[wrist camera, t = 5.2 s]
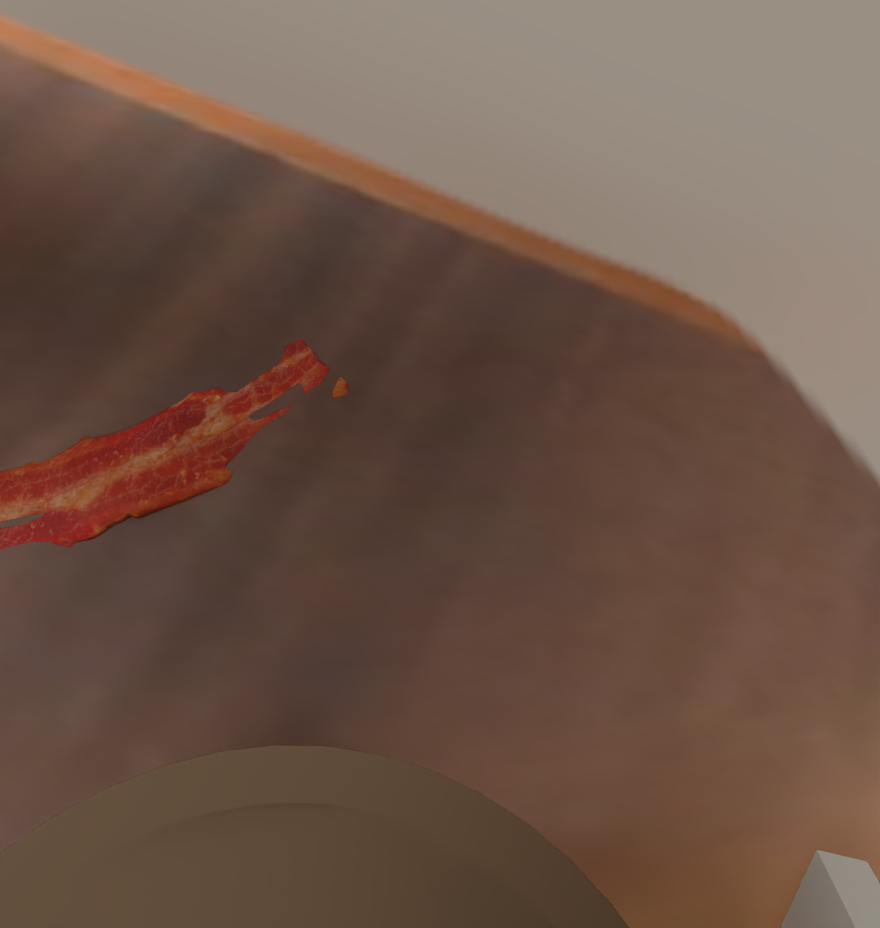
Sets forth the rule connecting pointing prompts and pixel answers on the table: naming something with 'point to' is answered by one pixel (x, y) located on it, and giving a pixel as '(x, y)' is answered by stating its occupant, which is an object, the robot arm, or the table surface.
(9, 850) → the beige cylinder
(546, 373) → the table surface
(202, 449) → the bacon strip
